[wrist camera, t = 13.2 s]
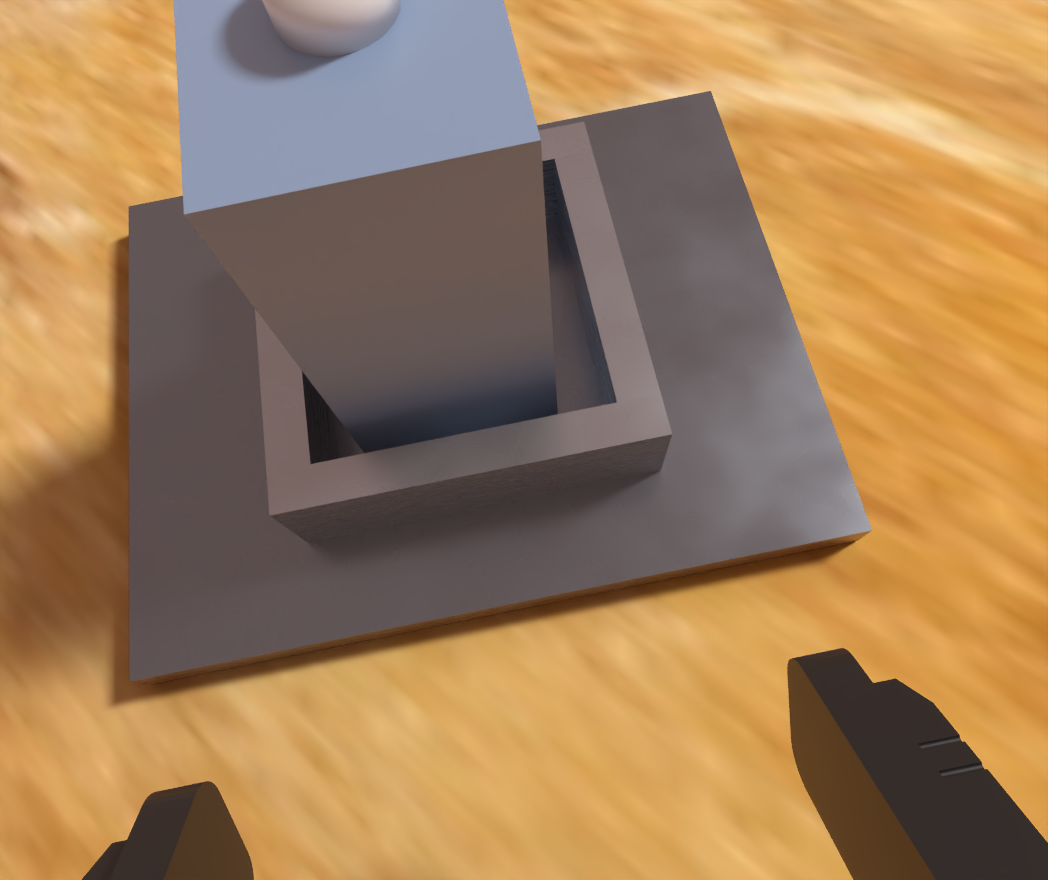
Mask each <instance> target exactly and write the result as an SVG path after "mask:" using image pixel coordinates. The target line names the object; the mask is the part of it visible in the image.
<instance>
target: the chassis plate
mask: <svg viewBox="0 0 1048 880" xmlns="http://www.w3.org/2000/svg"><path fill="white" fill-rule="evenodd" d="M537 127H538V131H539V135H540V139H541V150H542V166H543V182H544V198H545V215H546V231H547V247H548V263H549V279H550V296H551V312H552V328H553V344H554V360H555V377H556V393H557V409H558V414H557V415H552V416H547V417H542V418H537V419H532V420H528V421H523V422H518V423H513V424H508V425H503V426H498V427H493V428H488V429H483V430H478V431H473V432H468V433H463V434H458V435H453V436H448V437H443V438H438V439H433V440H428V441H423V442H418V443H413V444H408V445H403V446H398V447H394V448H389V449H384V450H379V451H374V452H369V453H364V452H363V451H362V449H361V448H360V447H359V445H358V444H357V443H356V441H355V440H354V439H353V437H352V436H351V435H350V433H349V432H348V431H347V429H346V428H345V427H344V426H343V424H342V423H341V422H340V420H339V419H338V418H337V416H336V415H335V414H334V412H333V411H332V410H331V408H330V407H329V406H328V404H327V403H326V402H325V400H324V399H323V398H322V396H321V395H320V394H319V392H318V391H317V390H316V389H315V387H314V386H313V385H312V383H311V382H310V381H309V379H308V378H307V377H306V375H305V374H304V373H303V371H302V370H301V369H300V367H299V366H298V365H297V363H296V362H295V361H294V359H293V358H292V357H291V355H290V354H289V353H288V351H287V350H286V349H285V348H284V346H283V345H282V344H281V342H280V341H279V340H278V338H277V337H276V336H275V334H274V333H273V332H272V330H271V329H270V328H269V326H268V325H267V324H266V322H265V321H264V320H263V318H262V317H261V316H260V314H259V313H258V312H257V310H256V309H255V308H254V307H253V305H252V304H251V303H250V301H249V300H248V299H247V297H246V296H245V295H244V293H243V292H242V291H241V289H240V288H239V287H238V285H237V284H236V283H235V281H234V280H233V279H232V277H231V276H230V275H229V273H228V272H227V271H226V269H225V268H224V267H223V266H222V264H221V263H220V262H219V260H218V259H217V258H216V256H215V255H214V254H213V252H212V251H211V250H210V248H209V247H208V246H207V244H206V243H205V242H204V240H203V239H202V238H201V236H200V235H199V234H198V232H197V231H196V230H195V228H194V227H193V226H192V225H191V223H190V222H189V221H188V219H187V218H186V217H185V215H184V206H183V196H180V197H175V198H170V199H165V200H160V201H155V202H150V203H144V204H139V205H134V206H129V682H137V683H146V684H154V683H159V682H164V681H169V680H174V679H179V678H184V677H189V676H193V675H198V674H203V673H208V672H213V671H218V670H223V669H228V668H233V667H238V666H243V665H248V664H252V663H257V662H262V661H267V660H272V659H277V658H282V657H287V656H292V655H297V654H302V653H307V652H311V651H316V650H321V649H326V648H331V647H336V646H341V645H346V644H351V643H356V642H361V641H366V640H370V639H375V638H380V637H385V636H390V635H395V634H400V633H405V632H410V631H415V630H420V629H425V628H429V627H434V626H439V625H444V624H449V623H454V622H459V621H464V620H469V619H474V618H479V617H484V616H488V615H493V614H498V613H503V612H508V611H513V610H518V609H523V608H528V607H533V606H538V605H543V604H547V603H552V602H557V601H562V600H567V599H572V598H577V597H582V596H587V595H592V594H597V593H602V592H606V591H611V590H616V589H621V588H626V587H631V586H636V585H641V584H646V583H651V582H656V581H661V580H665V579H670V578H675V577H680V576H685V575H690V574H695V573H700V572H705V571H710V570H715V569H720V568H724V567H729V566H734V565H739V564H744V563H749V562H754V561H759V560H764V559H769V558H774V557H779V556H784V555H788V554H793V553H798V552H803V551H808V550H813V549H818V548H823V547H828V546H833V545H838V544H843V543H847V542H852V541H857V540H859V539H860V538H862V537H863V536H865V535H866V534H868V533H869V532H871V531H872V529H871V526H870V524H869V521H868V518H867V516H866V513H865V510H864V507H863V505H862V502H861V499H860V497H859V494H858V491H857V488H856V486H855V483H854V480H853V477H852V475H851V472H850V469H849V467H848V464H847V461H846V458H845V456H844V453H843V450H842V447H841V445H840V442H839V439H838V437H837V434H836V431H835V428H834V426H833V423H832V420H831V418H830V415H829V412H828V409H827V407H826V404H825V401H824V398H823V396H822V393H821V390H820V388H819V385H818V382H817V379H816V377H815V374H814V371H813V369H812V366H811V363H810V360H809V358H808V355H807V352H806V349H805V347H804V344H803V341H802V339H801V336H800V333H799V330H798V328H797V325H796V322H795V319H794V317H793V314H792V311H791V309H790V306H789V303H788V300H787V298H786V295H785V292H784V290H783V287H782V284H781V281H780V279H779V276H778V273H777V270H776V268H775V265H774V262H773V260H772V257H771V254H770V251H769V249H768V246H767V243H766V241H765V238H764V235H763V232H762V230H761V227H760V224H759V221H758V219H757V216H756V213H755V211H754V208H753V205H752V202H751V200H750V197H749V194H748V191H747V189H746V186H745V183H744V181H743V178H742V175H741V172H740V170H739V167H738V164H737V162H736V159H735V156H734V153H733V151H732V148H731V145H730V142H729V140H728V137H727V134H726V132H725V129H724V126H723V123H722V121H721V118H720V115H719V113H718V110H717V107H716V104H715V102H714V99H713V96H712V93H711V91H708V92H703V93H698V94H693V95H688V96H683V97H678V98H673V99H668V100H663V101H658V102H653V103H648V104H643V105H638V106H633V107H628V108H623V109H618V110H613V111H608V112H603V113H598V114H593V115H588V116H583V117H578V118H572V119H567V120H562V121H557V122H552V123H547V124H542V125H537Z"/></svg>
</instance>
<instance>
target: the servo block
mask: <svg viewBox="0 0 1048 880" xmlns="http://www.w3.org/2000/svg"><path fill="white" fill-rule="evenodd" d="M174 16H175V37H176V58H177V80H178V101H179V122H180V143H181V164H182V185H183V206H184V215H185V217H186V218H187V219H188V221H189V222H190V223H191V225H192V226H193V227H194V228H195V230H196V231H197V232H198V234H199V235H200V236H201V238H202V239H203V240H204V242H205V243H206V244H207V246H208V247H209V248H210V250H211V251H212V252H213V254H214V255H215V256H216V258H217V259H218V260H219V262H220V263H221V264H222V266H223V267H224V268H225V269H226V271H227V272H228V273H229V275H230V276H231V277H232V279H233V280H234V281H235V283H236V284H237V285H238V287H239V288H240V289H241V291H242V292H243V293H244V295H245V296H246V297H247V299H248V300H249V301H250V303H251V304H252V305H253V307H254V308H255V309H256V310H257V312H258V313H259V314H260V316H261V317H262V318H263V320H264V321H265V322H266V324H267V325H268V326H269V328H270V329H271V330H272V332H273V333H274V334H275V336H276V337H277V338H278V340H279V341H280V342H281V344H282V345H283V346H284V348H285V349H286V350H287V351H288V353H289V354H290V355H291V357H292V358H293V359H294V361H295V362H296V363H297V365H298V366H299V367H300V369H301V370H302V371H303V373H304V374H305V375H306V377H307V378H308V379H309V381H310V382H311V383H312V385H313V386H314V387H315V389H316V390H317V391H318V392H319V394H320V395H321V396H322V398H323V399H324V400H325V402H326V403H327V404H328V406H329V407H330V408H331V410H332V411H333V412H334V414H335V415H336V416H337V418H338V419H339V420H340V422H341V423H342V424H343V426H344V427H345V428H346V429H347V431H348V432H349V433H350V435H351V436H352V437H353V439H354V440H355V441H356V443H357V444H358V445H359V447H360V448H361V449H362V451H363V452H364V453H369V452H374V451H379V450H384V449H389V448H394V447H398V446H403V445H408V444H413V443H418V442H423V441H428V440H433V439H438V438H443V437H448V436H453V435H458V434H463V433H468V432H473V431H478V430H483V429H488V428H493V427H498V426H503V425H508V424H513V423H518V422H523V421H528V420H532V419H537V418H542V417H547V416H552V415H557V414H558V409H557V393H556V377H555V360H554V344H553V328H552V312H551V296H550V279H549V263H548V247H547V231H546V215H545V198H544V182H543V166H542V150H541V139H540V135H539V131H538V127H537V124H536V120H535V116H534V112H533V109H532V105H531V101H530V98H529V94H528V90H527V86H526V83H525V79H524V75H523V71H522V68H521V64H520V60H519V57H518V53H517V49H516V45H515V42H514V38H513V34H512V30H511V27H510V23H509V19H508V15H507V12H506V8H505V4H504V1H503V0H174Z"/></svg>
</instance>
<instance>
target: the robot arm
mask: <svg viewBox="0 0 1048 880" xmlns="http://www.w3.org/2000/svg"><path fill="white" fill-rule="evenodd" d="M787 669H788V690H789V708H790V727H791V742H792V749H793V753H794V757H795V761H796V765H797V768H798V771H799V774H800V776H801V779H802V781H803V784H804V786H805V788H806V790H807V792H808V794H809V796H810V798H811V800H812V802H813V803H814V805H815V807H816V809H817V811H818V813H819V815H820V817H821V819H822V821H823V823H824V824H825V826H826V828H827V830H828V832H829V834H830V836H831V838H832V840H833V842H834V843H835V845H836V847H837V849H838V851H839V853H840V855H841V857H842V859H843V861H844V862H845V864H846V866H847V868H848V870H849V872H850V874H851V876H852V878H853V880H1048V843H1047V841H1046V840H1045V839H1044V838H1043V837H1042V835H1041V834H1040V833H1039V832H1038V830H1037V829H1036V828H1035V827H1034V826H1033V824H1032V823H1031V822H1030V821H1029V819H1028V818H1027V817H1026V816H1025V815H1024V813H1023V812H1022V811H1021V810H1020V808H1019V807H1018V806H1017V805H1016V804H1015V802H1014V801H1013V800H1012V799H1011V797H1010V796H1009V795H1008V794H1007V793H1006V791H1005V790H1004V789H1003V788H1002V786H1001V785H1000V784H999V783H998V782H997V780H996V779H995V778H994V777H993V775H992V774H991V773H990V772H989V771H988V769H984V768H983V766H982V762H981V761H980V760H979V758H978V757H977V756H976V755H975V753H974V752H973V751H972V750H971V749H970V747H969V746H968V745H967V744H966V742H962V741H961V739H960V736H959V734H958V733H957V731H956V730H955V729H954V728H953V727H952V725H951V724H950V723H949V722H948V720H947V719H946V718H945V717H944V716H943V714H942V713H941V712H940V711H939V709H938V708H937V707H936V706H935V705H934V703H933V702H931V701H929V700H928V699H926V698H925V697H923V696H922V695H920V694H919V693H917V692H916V691H914V690H912V689H911V688H909V687H908V686H906V685H905V684H903V683H902V682H900V681H898V680H897V679H892V680H887V681H882V682H877V683H873V682H872V681H871V680H870V678H869V677H868V676H867V674H866V673H865V672H864V670H863V669H862V668H861V666H860V665H859V664H858V662H857V661H856V659H855V658H854V657H853V656H852V654H851V653H850V652H849V651H848V650H846V649H844V648H841V649H836V650H831V651H826V652H821V653H816V654H812V655H807V656H802V657H797V658H792V659H790V660H789V662H788V667H787ZM82 880H254V877H253V868H252V863H251V859H250V856H249V854H248V851H247V849H246V847H245V845H244V843H243V841H242V839H241V837H240V834H239V832H238V830H237V828H236V826H235V824H234V822H233V820H232V817H231V815H230V813H229V811H228V809H227V807H226V805H225V803H224V800H223V798H222V796H221V794H220V792H219V790H218V788H217V787H216V786H215V784H213V783H212V782H209V781H207V782H202V783H197V784H192V785H187V786H182V787H178V788H173V789H168V790H163V791H158V792H154V793H152V794H151V795H149V796H148V797H147V799H146V800H145V802H144V803H143V805H142V808H141V810H140V812H139V814H138V817H137V819H136V821H135V823H134V826H133V828H132V830H131V832H130V835H129V837H128V839H127V840H125V841H120V842H115V843H112V844H111V845H110V846H109V848H108V849H107V850H106V851H105V852H104V854H103V855H102V856H101V857H100V858H99V860H98V861H97V862H96V863H95V864H94V866H93V867H92V868H91V869H90V870H89V872H88V873H87V874H86V875H85V876H84V878H83V879H82Z"/></svg>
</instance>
